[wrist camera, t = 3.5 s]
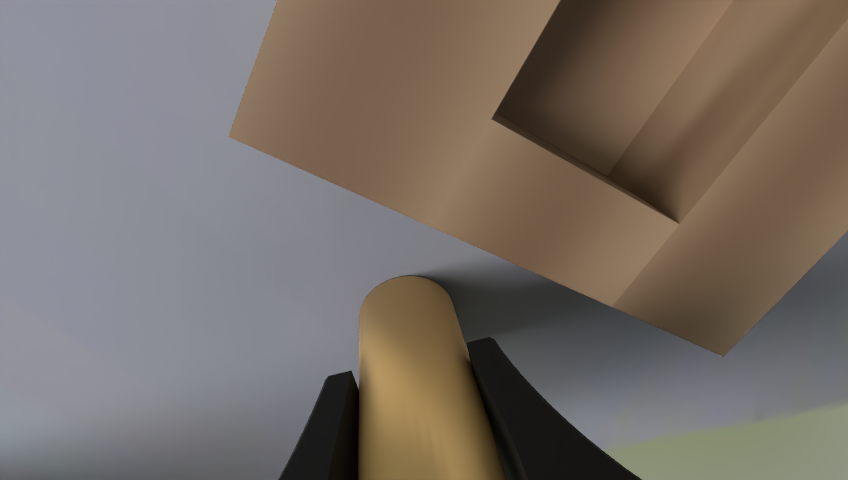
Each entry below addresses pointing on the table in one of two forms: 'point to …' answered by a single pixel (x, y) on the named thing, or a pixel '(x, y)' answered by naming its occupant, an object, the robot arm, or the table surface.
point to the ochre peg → (419, 390)
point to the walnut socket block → (581, 137)
